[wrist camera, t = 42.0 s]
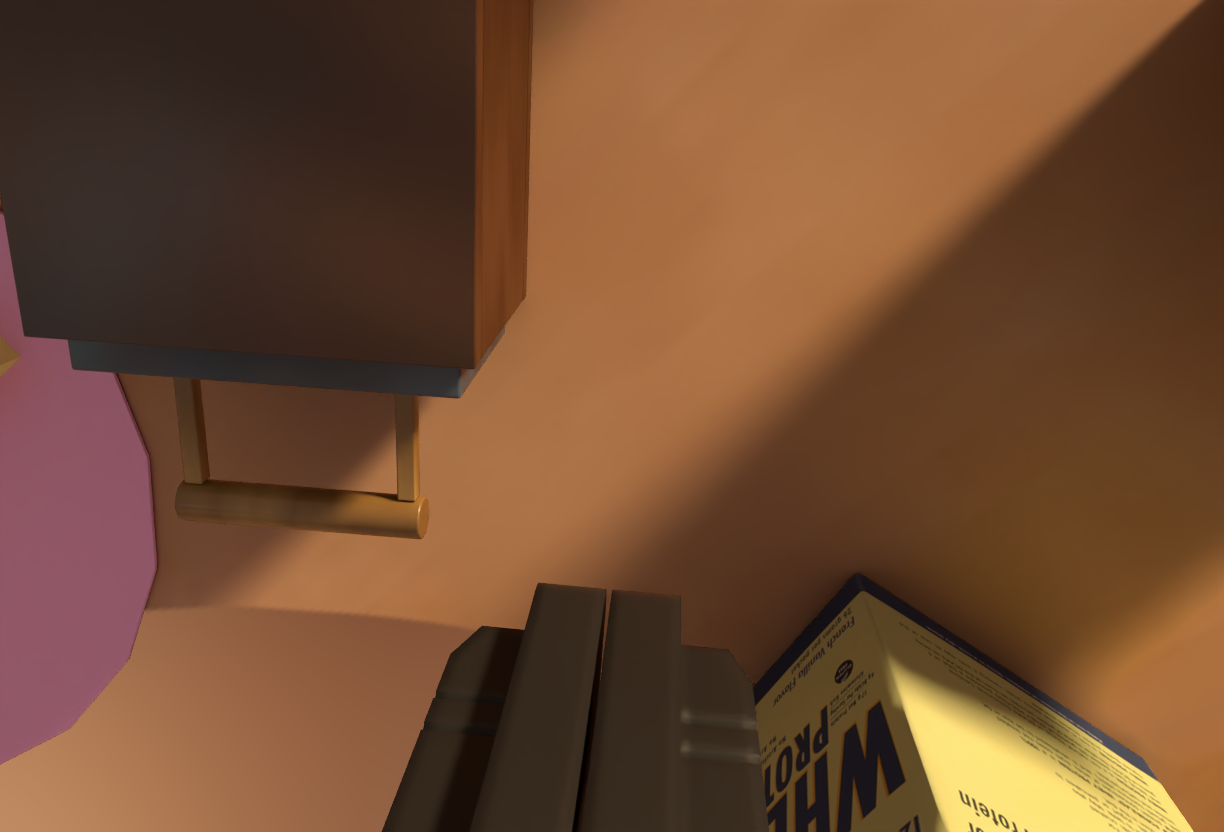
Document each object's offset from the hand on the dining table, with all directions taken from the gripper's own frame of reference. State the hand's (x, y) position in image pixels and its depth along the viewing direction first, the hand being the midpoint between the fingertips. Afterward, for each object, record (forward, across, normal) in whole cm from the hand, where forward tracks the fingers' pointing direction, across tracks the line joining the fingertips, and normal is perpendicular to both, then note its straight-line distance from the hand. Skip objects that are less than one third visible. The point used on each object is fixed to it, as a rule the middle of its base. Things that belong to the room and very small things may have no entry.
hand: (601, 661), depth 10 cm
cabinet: (+24, +11, -5) cm, 27 cm away
